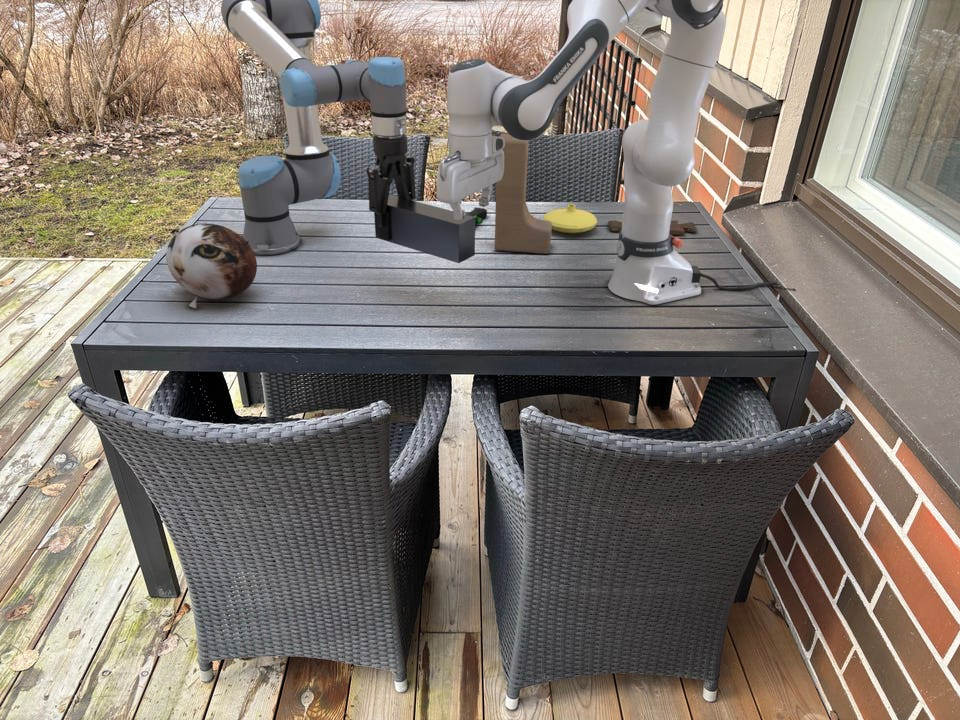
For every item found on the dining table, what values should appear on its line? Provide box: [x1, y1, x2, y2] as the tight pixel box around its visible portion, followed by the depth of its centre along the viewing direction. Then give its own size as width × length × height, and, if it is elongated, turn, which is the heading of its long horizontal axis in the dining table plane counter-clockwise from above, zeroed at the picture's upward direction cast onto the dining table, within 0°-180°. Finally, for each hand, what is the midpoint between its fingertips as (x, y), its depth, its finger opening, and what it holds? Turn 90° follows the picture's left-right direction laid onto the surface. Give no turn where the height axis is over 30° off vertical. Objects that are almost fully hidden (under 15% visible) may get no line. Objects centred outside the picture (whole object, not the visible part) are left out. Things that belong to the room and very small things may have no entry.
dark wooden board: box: [607, 219, 697, 235], centre depth 211 cm, size 26×2×10 cm
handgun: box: [464, 207, 488, 227], centre depth 215 cm, size 16×3×15 cm
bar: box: [373, 194, 476, 264], centre depth 161 cm, size 25×6×9 cm, turn 54°
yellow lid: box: [543, 203, 598, 234], centre depth 209 cm, size 16×16×7 cm
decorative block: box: [494, 132, 553, 255], centre depth 190 cm, size 8×15×30 cm, turn 82°
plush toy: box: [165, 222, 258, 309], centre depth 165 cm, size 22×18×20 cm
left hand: (394, 234), depth 168 cm, fingers closed on bar, 6 cm apart
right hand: (471, 212), depth 152 cm, fingers open, 8 cm apart
